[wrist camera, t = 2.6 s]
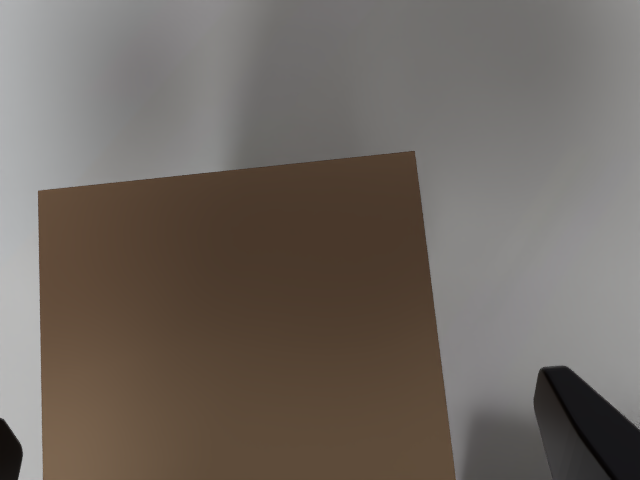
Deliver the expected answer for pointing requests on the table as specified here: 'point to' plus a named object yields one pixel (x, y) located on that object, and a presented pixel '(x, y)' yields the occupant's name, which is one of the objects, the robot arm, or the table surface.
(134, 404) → the block
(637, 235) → the table surface
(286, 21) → the table surface
